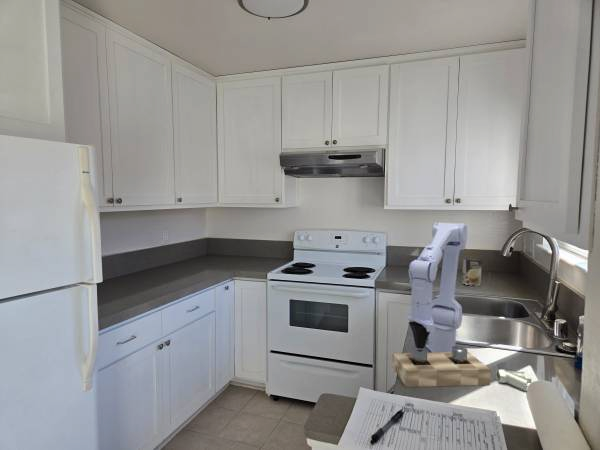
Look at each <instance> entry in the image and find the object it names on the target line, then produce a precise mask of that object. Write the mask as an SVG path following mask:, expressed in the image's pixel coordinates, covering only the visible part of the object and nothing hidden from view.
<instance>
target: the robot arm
mask: <svg viewBox="0 0 600 450" xmlns="http://www.w3.org/2000/svg"><path fill="white" fill-rule="evenodd" d="M431 234H432V240H431V242H430V244H429V245H426V246H425V247H424V249H422V251H421V253H420V255H419V256H418V257H417V259H414V260H412V261H411V262H410V264H409V266H408V277H409V284H410V286H411V292H410V293H411V299H410V308H409V309H408V312H407V314H408V315H406V319H407V320H408V321H409V322H408V325H409V327H410V329H411V332H412V335H413V340H414V345H415V346H414V347H416V348H418V349H422V348H426V349H427V350H428V351H430V352H452V347H453V346H456V343H457V342H456V338H457V337H456V336H457V330H458V329H459V328H460V327H461V325H462V322H463V313H462V312H463V307H462V305H461V304H460V302H458V301H457V300H456V298H455V293H456V292H455V291H456V283H457V275H458V264H459V257H460V252H461V251H462V250H464V249H466V245H467V237H468V228H467V225H466V224H465V223H463V222H461V223H456V222H455V223H453V222H452V223H451V222H438V221H436V222H435V223H434V224H433V226H432V231H431ZM441 260H442V268H441V275H440V283H439V285H440V286H439V294H438V296H437V297H436V298H434V299H433V287H434V286H433V285H434V284H433V282H434V281H435V280H436V277H437V272H438V265H439V264H440V262H441ZM427 340H428V344H427Z"/></svg>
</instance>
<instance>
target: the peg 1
mask: <svg viewBox="0 0 600 450" xmlns="http://www.w3.org/2000/svg"><path fill="white" fill-rule="evenodd" d="M411 350H412V352H411V353H412V363H413V364H414V365H427V352H428V348H427V347H424V348H422V349H418V348H416V346H413V347H412V349H411Z"/></svg>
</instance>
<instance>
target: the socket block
mask: <svg viewBox="0 0 600 450" xmlns="http://www.w3.org/2000/svg"><path fill="white" fill-rule="evenodd" d="M451 357H452V352H431V351H430V352H428V351H427V365H414V364H413V363H412V352H393V353H392V366H391V368H392V370H394V372H395V373H396V375H397V377H398V378H399V379H400V381H402V383H403V385H404V386H405V388H417V387H419V388H420V387H421V388H423V387H457V386H458V387H459V386H460V387H461V386H462V387H463V386H490V385H491V372H492V371H491V368H489V367H488V366H487V365H486V364H485V363H483V362H482V361H480V360H479V359H478V358H477V357H475V356H474V355H473V354H472V353H471V352H469V351H467V364H454V363H453V362H452V361H451Z"/></svg>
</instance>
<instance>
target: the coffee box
mask: <svg viewBox="0 0 600 450" xmlns="http://www.w3.org/2000/svg"><path fill="white" fill-rule="evenodd" d="M482 263H483V260H481V259H478V258H463V261H462V277H461V278H462V279H461V284H462V283H463V284H465V285H482V284H481V283H482V267H483V265H482ZM463 284H462V285H463ZM465 285H464V286H465Z"/></svg>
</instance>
